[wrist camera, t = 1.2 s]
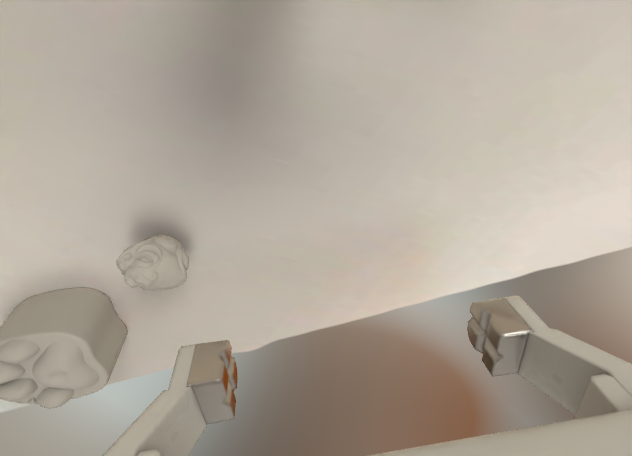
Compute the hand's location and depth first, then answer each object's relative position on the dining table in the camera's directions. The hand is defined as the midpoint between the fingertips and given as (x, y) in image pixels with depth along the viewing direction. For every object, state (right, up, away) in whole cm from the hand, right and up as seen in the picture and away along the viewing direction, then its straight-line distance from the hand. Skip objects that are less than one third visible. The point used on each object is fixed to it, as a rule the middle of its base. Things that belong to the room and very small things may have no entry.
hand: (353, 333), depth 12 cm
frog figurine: (-19, +2, +30) cm, 35 cm away
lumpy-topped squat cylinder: (-32, -8, +33) cm, 47 cm away
